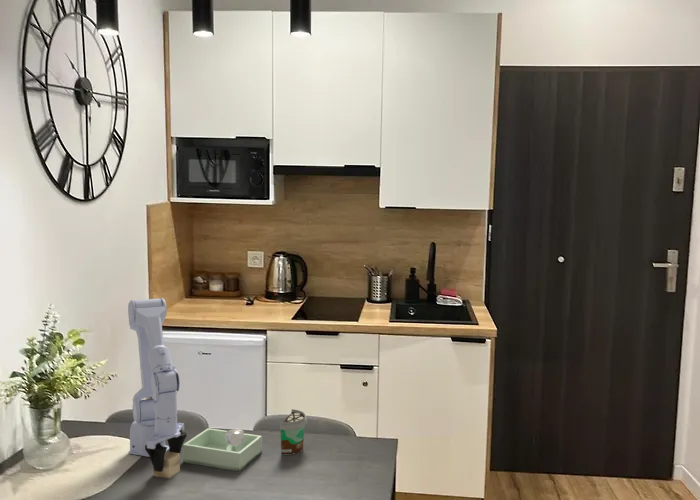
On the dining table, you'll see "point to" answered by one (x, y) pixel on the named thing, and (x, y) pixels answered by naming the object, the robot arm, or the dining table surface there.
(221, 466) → the tote
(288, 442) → the food container
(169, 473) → the cube
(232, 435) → the cylinder
